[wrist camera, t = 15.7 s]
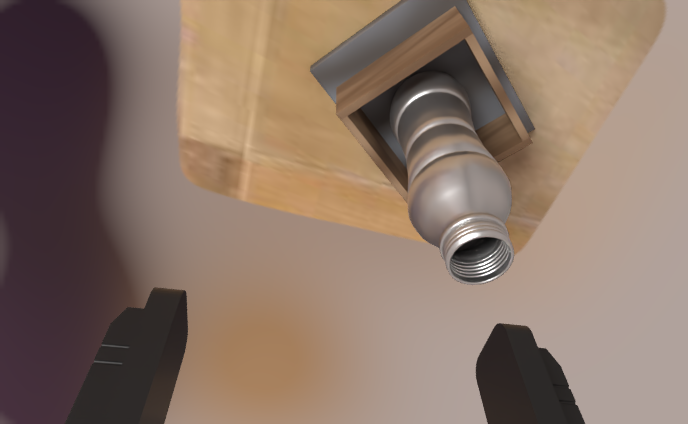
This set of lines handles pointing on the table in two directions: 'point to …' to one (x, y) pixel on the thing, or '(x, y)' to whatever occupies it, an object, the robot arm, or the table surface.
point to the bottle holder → (410, 59)
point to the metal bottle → (452, 178)
